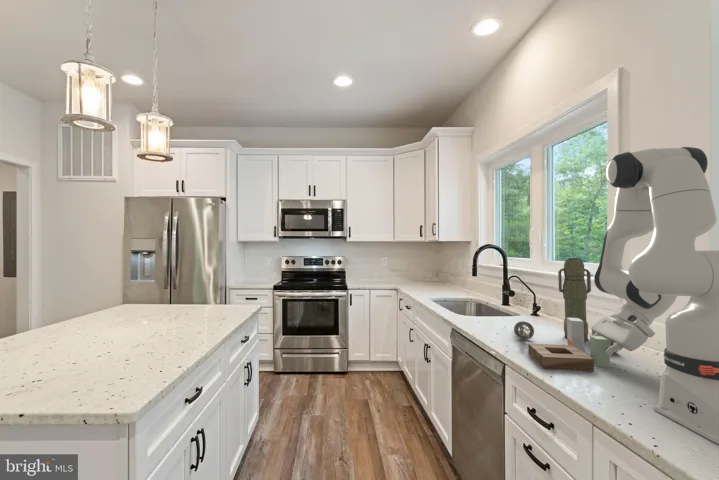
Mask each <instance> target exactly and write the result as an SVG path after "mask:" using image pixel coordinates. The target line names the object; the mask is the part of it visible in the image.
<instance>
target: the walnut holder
mask: <svg viewBox="0 0 719 480" xmlns="http://www.w3.org/2000/svg"><path fill="white" fill-rule="evenodd" d="M527 348H528V351H527V352H528V356H529V357H530V358H532V359H533V360H534V361H535V362H536V363H537V364H538V365H539V367H541V369H543V370H544V369H545V370H555V371H556V370H558V371H560V370H561V371H579V372H580V371H581V372H582V371H583V372H595V364H594V359H593V358H592V357H591V355H589V354H587V353H584V352H582V351H581V350H579V349H577V348H576V347H574V346H573V345H568V344H556V343H555V344H551V343H527Z"/></svg>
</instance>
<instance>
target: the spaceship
mask: <svg viewBox="0 0 719 480" xmlns="http://www.w3.org/2000/svg"><path fill="white" fill-rule="evenodd" d="M513 332H514V335H516V337H517V338H519V339H521V340H525V341H526V340H530V339H532V338H533V336H534V335H535V327H534V326H533V325H532V324H531V323H530V322H528V321H525V320H520V321H518V322H517V323H515V325H514V327H513Z"/></svg>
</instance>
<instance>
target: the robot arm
mask: <svg viewBox="0 0 719 480" xmlns="http://www.w3.org/2000/svg"><path fill="white" fill-rule="evenodd" d="M707 157H708V156H707V155H706V153H705V152H704V151H703V150H702V149H701V148H698V147H693V146H692V147H690V146H682V147H666V148H664V147H663V148H662V147H661V148H647V149H641V150H636V151H625V152H621V153H618V154H615V155H613V156H612V157H611V158H610V159H609V160H608V163H607V166H606V169H605V170H606V172H605V174H606V175H605V176H606V180H607V182H608V183H609V185H611V186H612V187H613V188H617V191H616V194H615V195H616V196H615V200H614V212H613V218H612V220H611V223H610V225H608V227H607V229H606V230H605V235H604V238H603V242H602V243H603V245H602V249H601V255H600V259H599V260H600V261H599V265H598V267H597V270H596V271H595V274H594V278H593V279H594V280H593V281H594V285H595V287H596V288H597V289H598V290H599V291H600V292H602V293H605V294H608V295H611V296H614V297H617V298H620V299H622V300H625V301H626V303H625V304H623V305H622V306H621V307H620V308H619V309H617V311H616V312H614V313H613V314H612V315H610V316H609V315H608V316H605V317H604V316H603V318H601V319H600V320H598V321H597V322H596V323H595V324H593V325H592V326H591V332H592V331H593V332H594V333H595V334H594V335H593V336H603V337H605V338H607V339H609V341H610V342H612V343H613V345H612V346H610V347H609V348H608V347H606V348H605V349H604V352H605V353H606V354H608V355H610V356H611V355H612V354H614V353H617V352H619V351H621V350H622V349H624V350H627V351H629V352H633V351H636V350H637V349H639V348H640V347H641V346H642V345H644V344H646V342H647V341H648V340H649V338H652V337H654V336H655V335H656V332H655V331H654V330H653V329H652V328H651V327H650V326H651V325H652V324H653V322H654V321H655V319H657V318H659V317H661V316H662V315H664V314H665V313H666V312H667V311H668V310H669V309H670V308H671V307H672V306H673V305H674V303H675V302H676V299H677V297H681V296H682V297H690V298H689V300H688V302H687V303H686V305H685V306H683V308H681V309H679V310H677V311H674V312H672V313H671V314H669V315H668V316H667V318H666V320H665V324H664V325H665V341H666V342H665V345H666V346H665V348H664V351H663V358H664V359H663V360H664V361H663V362H664V364H665V366H666V367H665V368H664V371H663V373H662V374H661V375H660V380H659V381H660V382H659V394H658V402H657V403H655V404H654V406H653V410H655V412H658V413H659V414H660V415H663V416H664V417H667V418H669V419H671V420H673V421H674V422H677V423H678V424H680V425H682V426H684V427H686V428H687V429H689V430H691V431H693V432H694V433H696V434H698V435H700V436H703V437H704V438H706V439H707V440H709V441H711V442H713V443H715V444H717V445H719V250H696V248H695V244H696V243H695V242H696V239H697V238H698V237H700V236H702V235H704V234H706V233H707V232H709V231H710V230H712V229H713V227H714V226H715V225H716V223H717V214H716V211H715V206H714V201H713V198H712V193H711V189H710V185H709V184H708V180H707V178H706V177H707V176H705V174H706V172H707V169H708V164H709V163H708V158H707ZM652 231H653V232H652ZM651 232H652V236H651V240H650V242H649V244H648V245H647V246H646V248H645V249H644V250H642V252H640V253H639V254H637V255H636V256H635V257H634V258H633V259H632V260H631V262H630V264H629V267H628V270H627V269H625V268H624V267H623V266H622V261H623V258H624V257H623V256H624V251H625V248H626V247H625V246H626V244H627V243H628V241H630V240H631V239H634V238H639V237H643V236H645V235H647V234H649V233H651ZM588 343H589V344H590V340H588Z"/></svg>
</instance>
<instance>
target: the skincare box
mask: <svg viewBox="0 0 719 480" xmlns="http://www.w3.org/2000/svg"><path fill="white" fill-rule="evenodd" d="M566 339H567V345H573V346H574V347H576V348H577V349H579V350H581V351H582V352H584V353H585V348H586V347H585V341H584V322H583V321H582V320H581V319H579V318H567V338H566ZM585 354H586V353H585Z"/></svg>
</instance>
